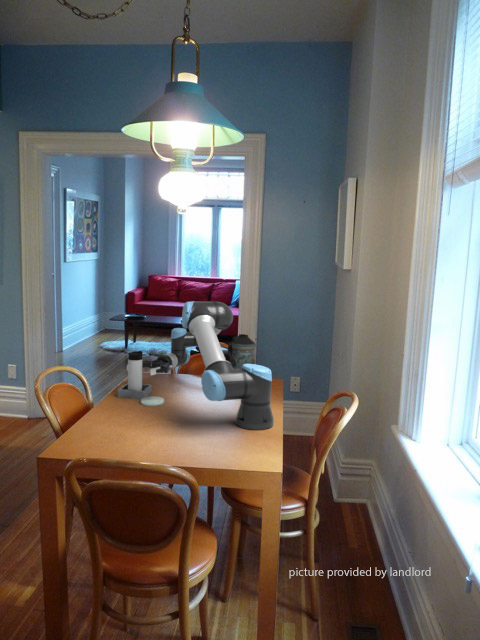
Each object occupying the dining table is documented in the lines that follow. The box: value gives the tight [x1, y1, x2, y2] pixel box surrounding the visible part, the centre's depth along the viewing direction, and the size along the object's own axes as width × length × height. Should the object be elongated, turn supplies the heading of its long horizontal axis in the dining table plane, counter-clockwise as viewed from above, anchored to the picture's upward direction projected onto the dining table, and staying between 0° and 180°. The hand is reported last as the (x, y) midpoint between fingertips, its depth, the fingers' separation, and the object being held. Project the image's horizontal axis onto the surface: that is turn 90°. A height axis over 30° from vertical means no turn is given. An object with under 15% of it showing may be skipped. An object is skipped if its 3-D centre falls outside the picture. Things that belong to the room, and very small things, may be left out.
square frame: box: [117, 382, 153, 400], centre depth 229 cm, size 12×12×4 cm
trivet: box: [140, 395, 165, 407], centre depth 219 cm, size 10×10×1 cm
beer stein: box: [227, 333, 257, 369], centre depth 256 cm, size 16×19×25 cm
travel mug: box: [127, 350, 144, 391], centre depth 228 cm, size 6×7×20 cm
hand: (138, 370), depth 231 cm, fingers open, 13 cm apart
